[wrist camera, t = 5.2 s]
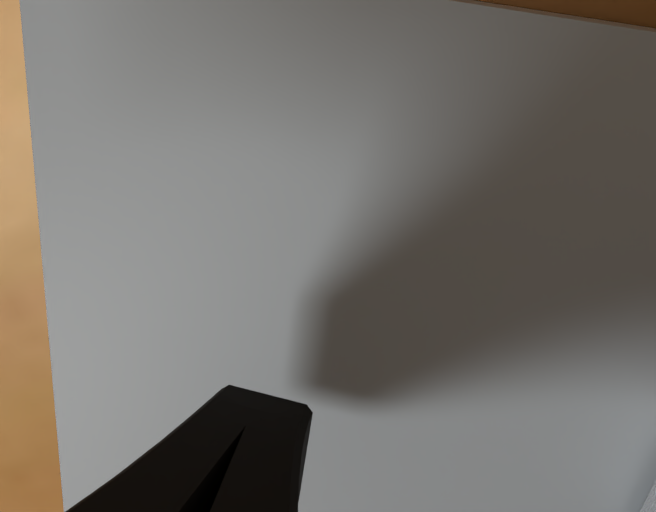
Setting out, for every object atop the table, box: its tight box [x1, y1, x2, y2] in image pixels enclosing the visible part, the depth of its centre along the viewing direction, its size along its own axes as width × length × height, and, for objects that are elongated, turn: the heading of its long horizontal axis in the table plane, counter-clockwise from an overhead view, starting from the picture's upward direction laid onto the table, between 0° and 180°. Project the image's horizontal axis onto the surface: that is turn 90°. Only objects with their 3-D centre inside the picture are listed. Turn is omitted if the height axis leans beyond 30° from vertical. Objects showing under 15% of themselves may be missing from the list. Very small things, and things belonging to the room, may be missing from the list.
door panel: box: [20, 0, 656, 512], centre depth 10 cm, size 13×14×3 cm
